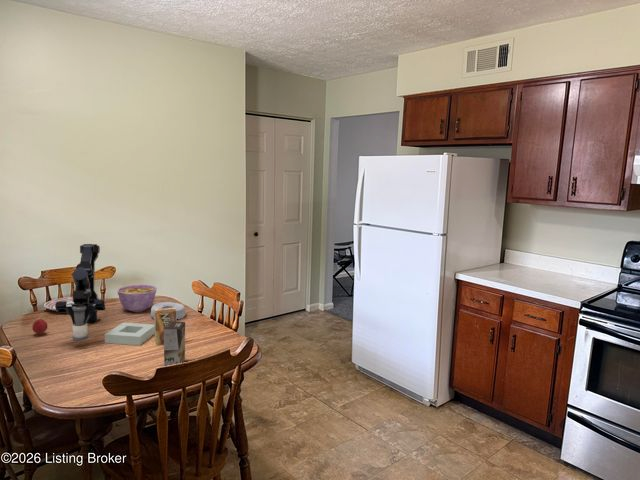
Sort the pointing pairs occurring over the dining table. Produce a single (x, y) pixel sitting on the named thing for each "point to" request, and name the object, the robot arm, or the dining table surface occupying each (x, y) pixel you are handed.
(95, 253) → the robot arm
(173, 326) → the coffee box
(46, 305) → the dinner plate
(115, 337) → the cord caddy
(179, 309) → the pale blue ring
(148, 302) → the bowl of food
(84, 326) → the pepper grinder
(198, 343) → the dining table surface
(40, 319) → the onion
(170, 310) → the candy box
